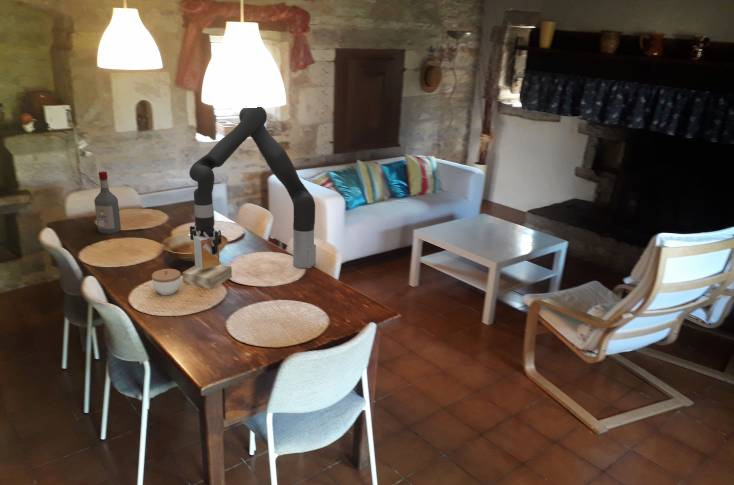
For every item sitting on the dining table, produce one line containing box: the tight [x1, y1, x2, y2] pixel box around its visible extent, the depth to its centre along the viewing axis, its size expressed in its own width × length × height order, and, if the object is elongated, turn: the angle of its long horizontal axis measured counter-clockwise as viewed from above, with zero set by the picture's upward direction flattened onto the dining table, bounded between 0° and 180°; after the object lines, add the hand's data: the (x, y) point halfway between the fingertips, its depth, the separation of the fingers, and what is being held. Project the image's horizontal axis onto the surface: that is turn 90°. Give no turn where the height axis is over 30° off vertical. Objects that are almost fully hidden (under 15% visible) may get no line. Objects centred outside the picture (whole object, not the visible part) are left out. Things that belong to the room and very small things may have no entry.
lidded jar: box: [151, 268, 182, 296], centre depth 226 cm, size 11×11×9 cm
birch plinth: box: [182, 263, 233, 290], centre depth 239 cm, size 14×14×5 cm
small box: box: [193, 235, 221, 270], centre depth 235 cm, size 8×6×13 cm
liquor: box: [93, 171, 122, 235], centre depth 283 cm, size 9×9×30 cm
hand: (206, 252), depth 235 cm, fingers closed on small box, 7 cm apart
